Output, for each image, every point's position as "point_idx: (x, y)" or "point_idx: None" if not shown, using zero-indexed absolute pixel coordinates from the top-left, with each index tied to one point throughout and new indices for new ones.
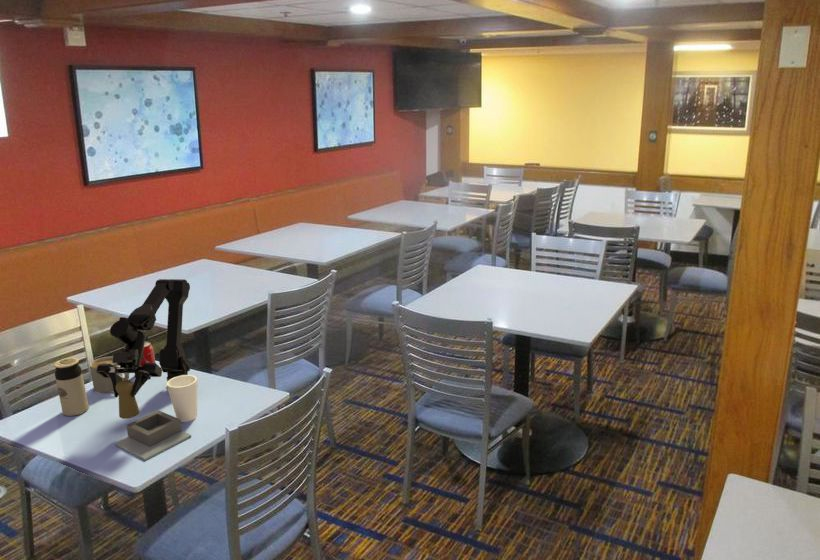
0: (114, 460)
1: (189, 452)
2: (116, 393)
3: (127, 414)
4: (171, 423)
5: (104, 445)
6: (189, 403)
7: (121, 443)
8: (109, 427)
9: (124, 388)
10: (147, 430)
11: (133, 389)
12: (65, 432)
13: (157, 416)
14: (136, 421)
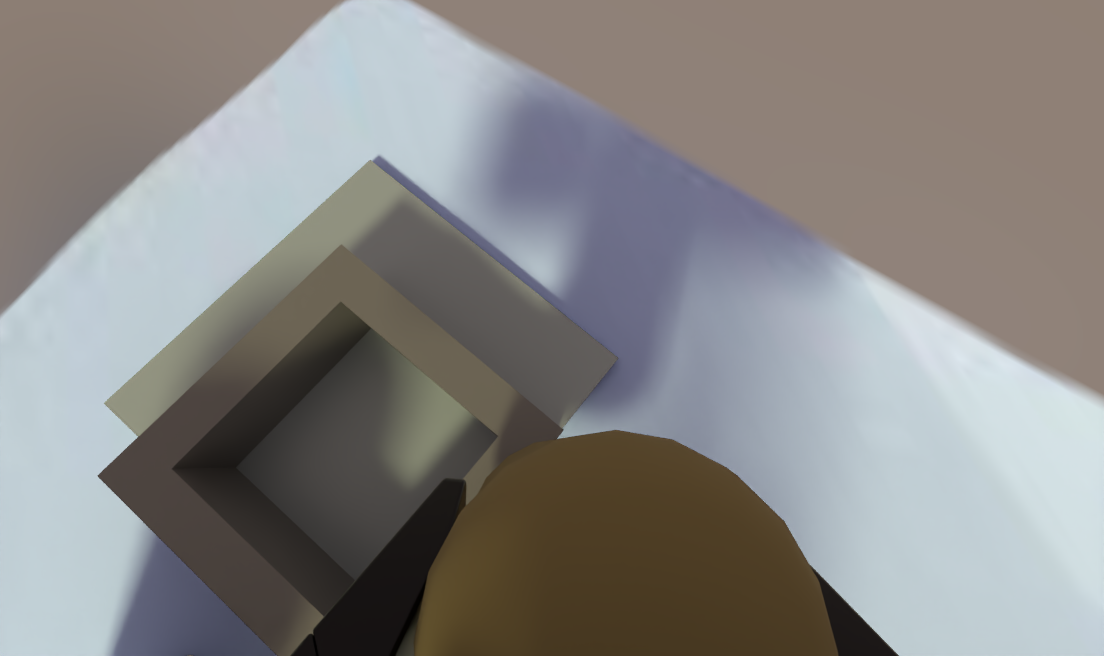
0: (552, 193)
1: (122, 215)
2: None
3: (549, 443)
4: (174, 410)
5: (680, 365)
6: None
7: (570, 349)
8: None
9: (558, 443)
10: (360, 317)
11: (413, 554)
12: (1039, 581)
13: None
14: None
